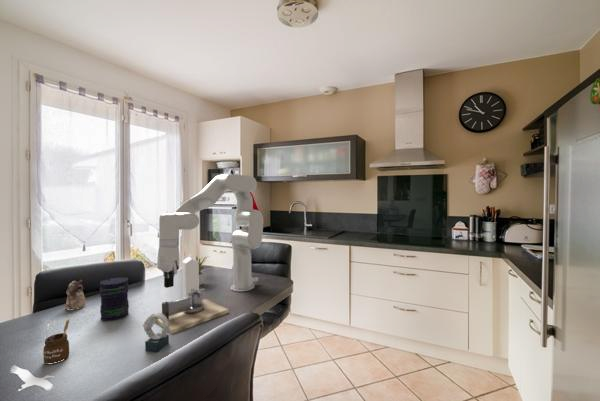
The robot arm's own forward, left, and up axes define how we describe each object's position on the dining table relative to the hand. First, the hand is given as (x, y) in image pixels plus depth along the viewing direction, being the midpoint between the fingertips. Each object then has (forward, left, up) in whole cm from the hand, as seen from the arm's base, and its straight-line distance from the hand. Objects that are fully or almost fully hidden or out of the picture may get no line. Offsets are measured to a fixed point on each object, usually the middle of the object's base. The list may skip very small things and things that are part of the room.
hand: (168, 286), depth 116 cm
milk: (-14, -8, -12) cm, 20 cm away
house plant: (-29, -29, -12) cm, 43 cm away
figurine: (+24, -40, -12) cm, 48 cm away
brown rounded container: (+36, +6, -12) cm, 39 cm away
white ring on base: (+13, +22, -12) cm, 28 cm away
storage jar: (+15, -16, -12) cm, 25 cm away
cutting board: (-6, +8, -12) cm, 15 cm away
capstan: (-3, +7, -10) cm, 13 cm away
